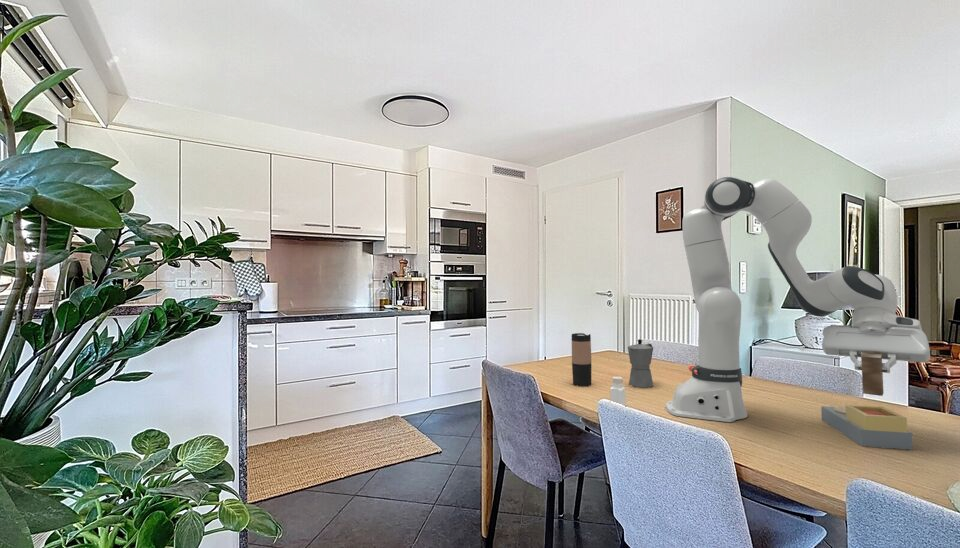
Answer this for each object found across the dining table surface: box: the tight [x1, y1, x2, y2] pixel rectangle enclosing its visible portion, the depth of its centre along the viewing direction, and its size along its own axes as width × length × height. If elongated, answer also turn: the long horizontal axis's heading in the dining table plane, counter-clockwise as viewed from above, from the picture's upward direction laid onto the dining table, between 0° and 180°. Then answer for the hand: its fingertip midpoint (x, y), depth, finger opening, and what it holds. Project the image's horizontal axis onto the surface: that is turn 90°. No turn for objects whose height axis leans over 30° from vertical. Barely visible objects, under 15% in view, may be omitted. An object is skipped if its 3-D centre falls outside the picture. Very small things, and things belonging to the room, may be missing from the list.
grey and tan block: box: [820, 404, 914, 451], centre depth 112 cm, size 10×20×8 cm, turn 164°
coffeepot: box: [627, 338, 654, 389], centre depth 168 cm, size 15×9×18 cm, turn 128°
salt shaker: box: [609, 376, 627, 407], centre depth 140 cm, size 4×4×10 cm
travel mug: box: [571, 332, 592, 387], centre depth 170 cm, size 8×8×20 cm
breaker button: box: [864, 411, 886, 416], centre depth 107 cm, size 4×4×5 cm
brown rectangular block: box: [860, 351, 885, 397], centre depth 106 cm, size 4×4×10 cm
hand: (871, 369), depth 105 cm, fingers closed on brown rectangular block, 3 cm apart
